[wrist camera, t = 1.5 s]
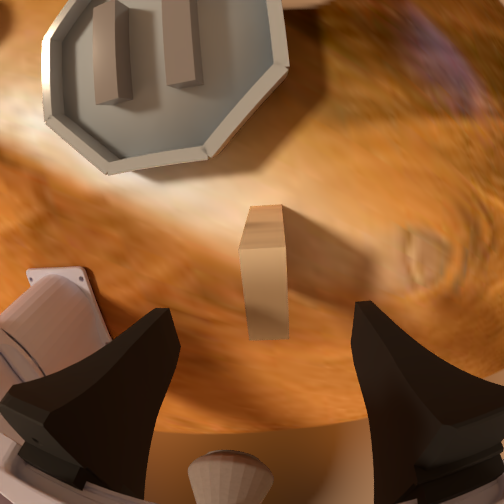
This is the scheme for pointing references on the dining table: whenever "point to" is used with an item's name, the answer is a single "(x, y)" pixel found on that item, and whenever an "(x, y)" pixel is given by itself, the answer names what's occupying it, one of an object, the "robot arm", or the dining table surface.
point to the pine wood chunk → (265, 273)
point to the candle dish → (159, 76)
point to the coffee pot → (229, 478)
